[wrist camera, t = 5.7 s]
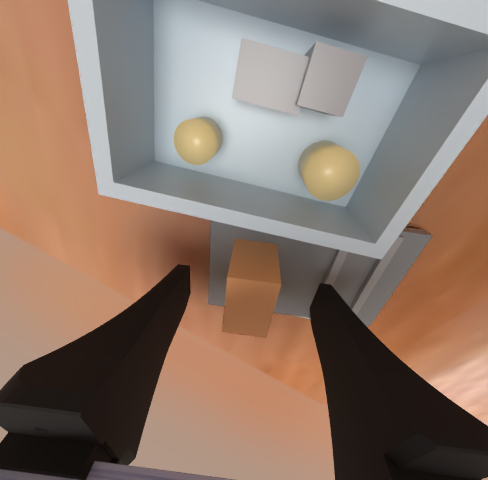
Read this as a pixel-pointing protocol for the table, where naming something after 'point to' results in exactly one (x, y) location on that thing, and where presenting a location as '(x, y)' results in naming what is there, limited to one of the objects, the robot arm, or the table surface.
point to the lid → (298, 275)
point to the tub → (282, 108)
